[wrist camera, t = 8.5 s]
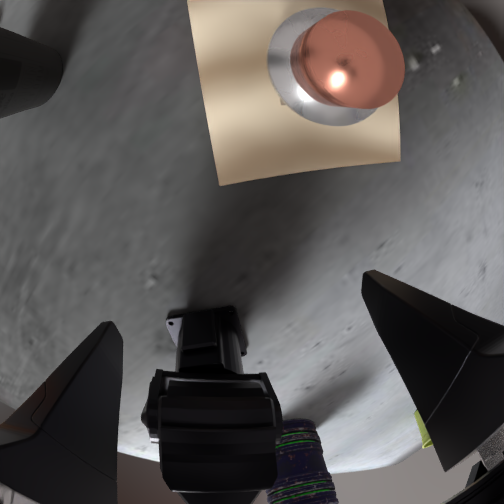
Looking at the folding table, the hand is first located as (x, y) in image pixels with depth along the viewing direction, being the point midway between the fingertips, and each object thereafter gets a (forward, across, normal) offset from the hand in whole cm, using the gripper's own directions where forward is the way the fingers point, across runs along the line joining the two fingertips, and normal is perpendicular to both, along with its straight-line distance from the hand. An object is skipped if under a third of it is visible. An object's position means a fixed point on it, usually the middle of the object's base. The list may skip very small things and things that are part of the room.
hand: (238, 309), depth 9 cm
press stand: (+12, -7, -8) cm, 16 cm away
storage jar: (+13, -2, +39) cm, 41 cm away
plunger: (+11, -7, -8) cm, 16 cm away
